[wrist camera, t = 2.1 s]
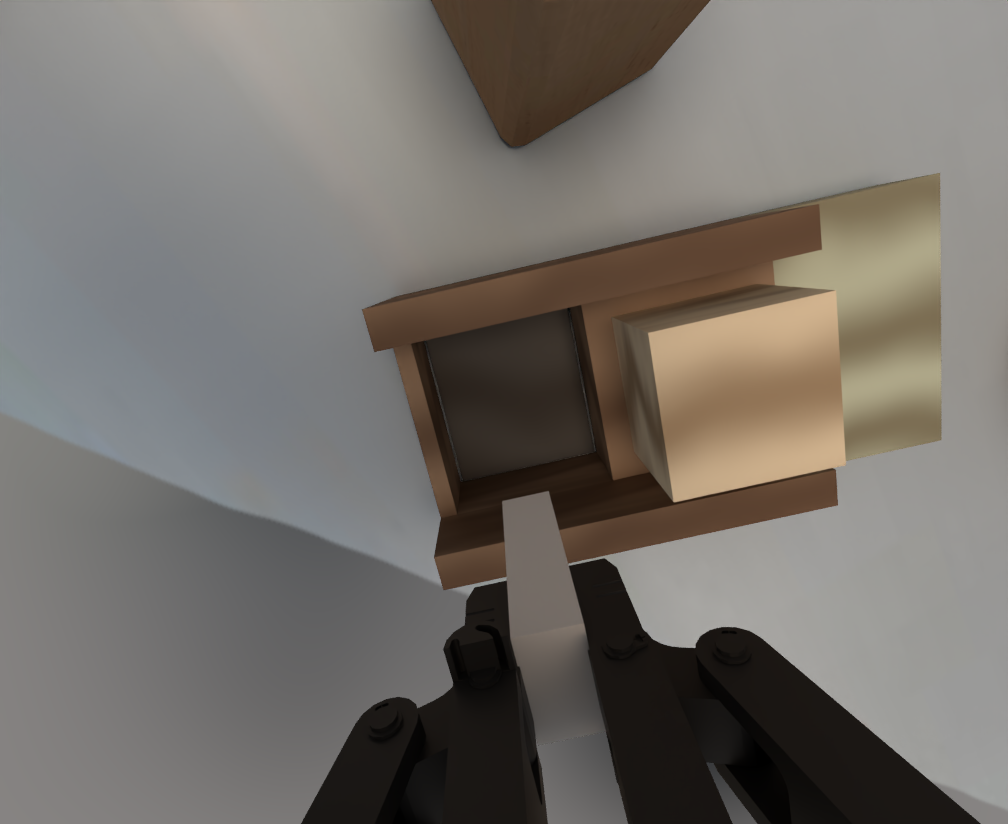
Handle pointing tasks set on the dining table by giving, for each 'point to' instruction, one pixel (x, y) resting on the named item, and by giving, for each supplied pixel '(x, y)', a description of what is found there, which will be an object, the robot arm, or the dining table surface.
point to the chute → (558, 390)
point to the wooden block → (557, 53)
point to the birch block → (734, 387)
